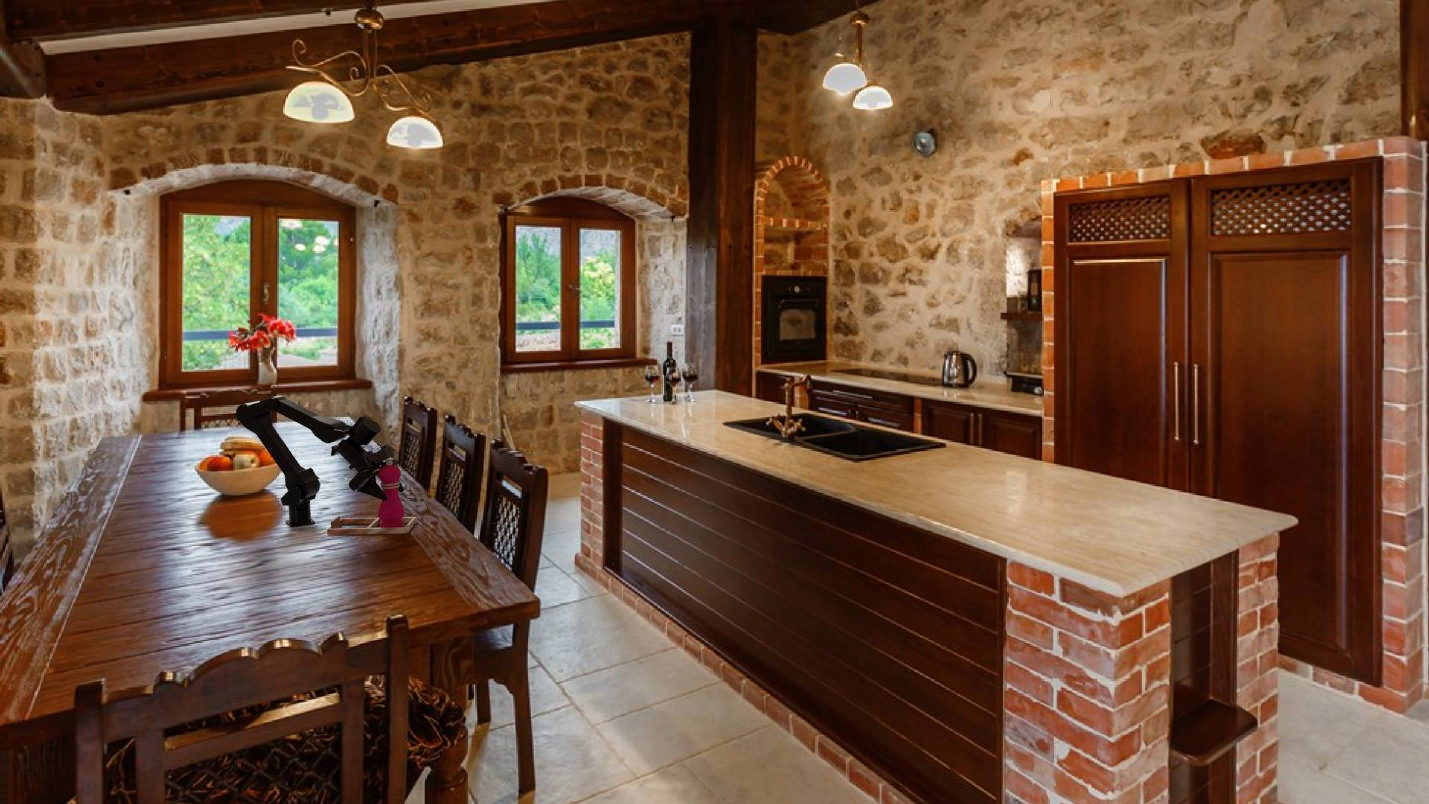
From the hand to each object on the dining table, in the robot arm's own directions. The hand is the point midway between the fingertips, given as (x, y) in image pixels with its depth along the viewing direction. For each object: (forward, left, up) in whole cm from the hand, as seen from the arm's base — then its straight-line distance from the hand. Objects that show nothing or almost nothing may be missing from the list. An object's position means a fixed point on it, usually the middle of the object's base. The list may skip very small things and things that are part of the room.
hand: (395, 495), depth 233 cm
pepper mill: (-1, -1, -10) cm, 10 cm away
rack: (-4, -5, -10) cm, 12 cm away
